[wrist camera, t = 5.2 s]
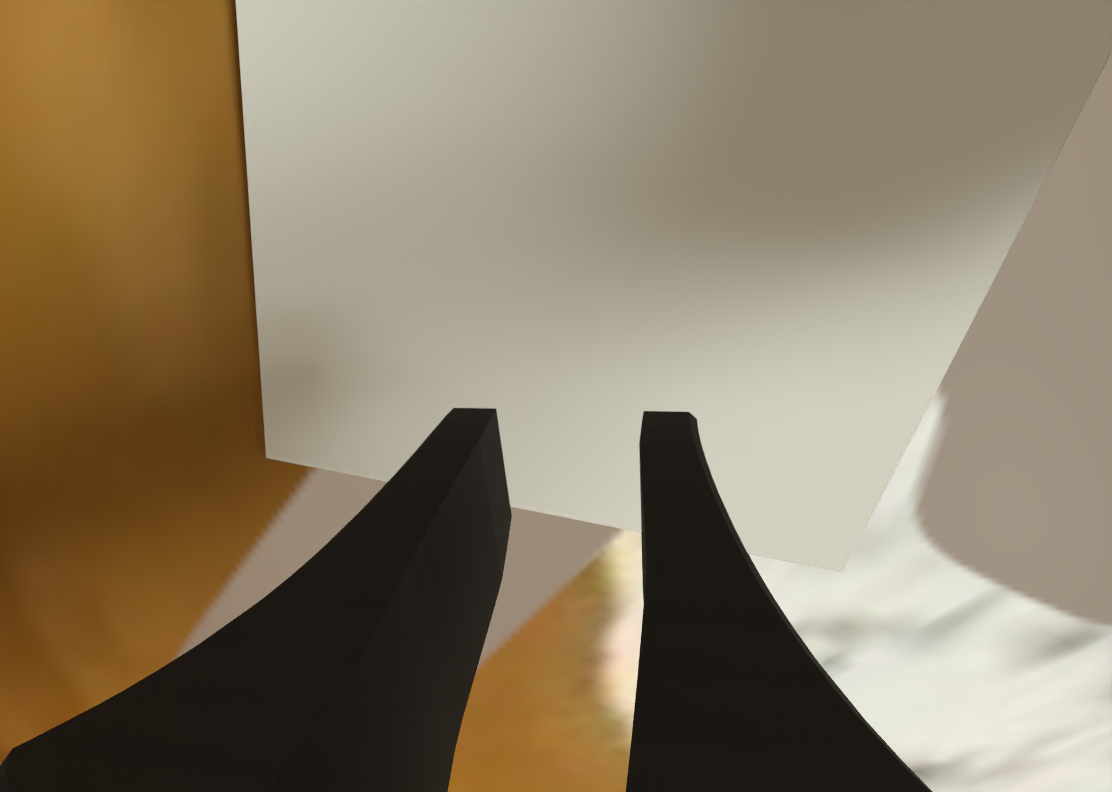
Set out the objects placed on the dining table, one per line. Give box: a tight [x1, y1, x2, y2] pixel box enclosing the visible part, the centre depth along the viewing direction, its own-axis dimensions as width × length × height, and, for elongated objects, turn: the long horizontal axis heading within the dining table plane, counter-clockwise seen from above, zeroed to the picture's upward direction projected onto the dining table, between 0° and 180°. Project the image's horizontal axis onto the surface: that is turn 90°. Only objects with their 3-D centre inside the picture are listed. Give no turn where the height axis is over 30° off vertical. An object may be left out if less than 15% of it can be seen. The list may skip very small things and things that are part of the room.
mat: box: [236, 0, 1112, 572], centre depth 19 cm, size 16×18×1 cm
